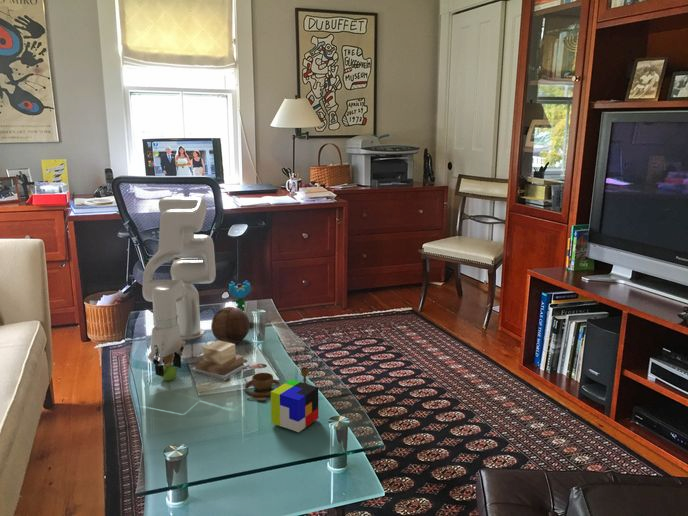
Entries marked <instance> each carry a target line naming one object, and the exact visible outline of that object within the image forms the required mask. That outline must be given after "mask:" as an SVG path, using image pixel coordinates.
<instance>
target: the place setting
mask: <svg viewBox="0 0 688 516" xmlns="http://www.w3.org/2000/svg"><path fill="white" fill-rule="evenodd" d="M300 373H301V376H302V377H303V380H302V382H303V383H305V384H307V382H306V381H307V376H308V375H309V367H308V366H307V367H306V366H303V367H301V368H300ZM273 385H276V386H277V388H278V387H280V386H281V385H282V384H281V381H279V380H277V379H275V378H274V375H273V374H272V373H268V372H257V373H256V374H254V375H252V377H251V380H250V381H247V382H246V383H245V385H244V389H245V392H246V393H247V394H249V395H251V396H254V397H247V400H257V401H261V402H262V401H263V402H264V401H266V400H267V399H268V398H267V397H269V396H270V397H271V391H272V390H269V389H270V388H271V387H273ZM251 386H252V387H253V388H254V389H256V390H257V392H254V391H250V390H248V388H249V387H251Z"/></svg>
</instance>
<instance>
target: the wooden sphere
mask: <svg viewBox="0 0 688 516" xmlns="http://www.w3.org/2000/svg"><path fill="white" fill-rule="evenodd" d="M210 325H211V327H210V329H211V332H212V334H213V337H214V338H215V339H216V341H217V340H219V341H224V342H228V343H233V344H235V345H236V344H238V343H240V342H242V341H243V340H244V339H245V338H246V337H247V335H248V333H249V330H250V319H249V316H248V315H247V314H246V313H245V311H242V310H241V309H239V308H236V306H226V307H223V308H221V309H219V310H218V311H217V312H216V313H215V314H214V315H213V317H212V320H211V324H210Z"/></svg>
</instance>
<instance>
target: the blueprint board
mask: <svg viewBox="0 0 688 516" xmlns="http://www.w3.org/2000/svg"><path fill="white" fill-rule="evenodd" d="M249 365H250V363H247V362H244V364H243V365H241V366H239V367H237V368H236V369H234V370H232V371H230V372H229V373H227V374H225V375H223V376H221V375H218V374H214V373H210V372H206V371H202V370H198V369H196V365H195V366H193V367H191V368H189V371H193V372H197V373H200V374H204V375H208V376H212V377H215V378H218V379H221V380H224V379H226V378H228V379H230V378H231V377H230V376H231V375H233V376H235V375H236V374H238V373H239V372H241V371H242V369H243V368H244V369H245V367H246V368H247V367H250V366H251V365H250V366H249ZM244 369H243V370H244ZM240 370H241V371H240ZM237 372H238V373H237ZM235 373H236V374H235ZM234 374H235V375H234ZM229 377H230V378H229Z"/></svg>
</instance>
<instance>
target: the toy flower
mask: <svg viewBox="0 0 688 516" xmlns="http://www.w3.org/2000/svg"><path fill="white" fill-rule="evenodd" d="M228 288H229V289H228V290H229V294H231V296H233V298H236V299H235V304H236V306H235V307H236V308H239V309H241V310H242V311H243V312H245V306H244V305H246V304H245V303H246V301H245V300H243V298H246V297H247V295H249V293H251V283H250V282H249V281H248V280H245V281H244V282H242V283H237V284H236V282H234V280H233V281H230V283H229V284H228Z"/></svg>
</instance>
